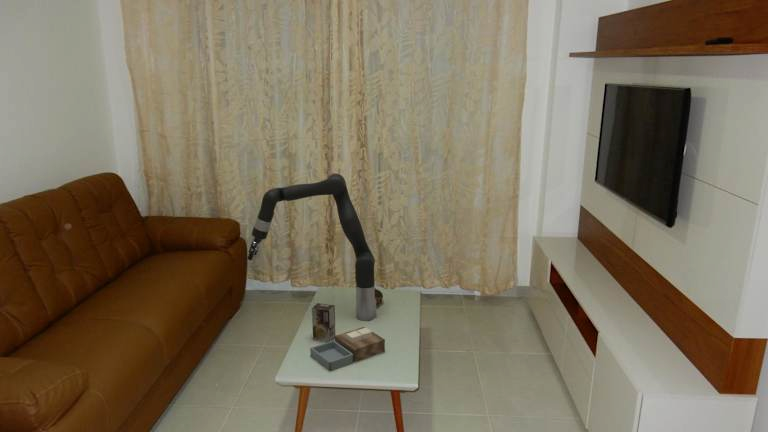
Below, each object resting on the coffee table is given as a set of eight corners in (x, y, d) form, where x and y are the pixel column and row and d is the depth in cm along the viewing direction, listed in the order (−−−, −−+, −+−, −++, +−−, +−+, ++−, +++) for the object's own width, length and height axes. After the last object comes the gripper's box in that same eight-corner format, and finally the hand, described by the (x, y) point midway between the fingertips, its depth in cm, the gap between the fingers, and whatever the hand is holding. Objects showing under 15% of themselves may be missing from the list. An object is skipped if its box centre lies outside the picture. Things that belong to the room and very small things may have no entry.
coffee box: (336, 337, 265) (335, 305, 261) (330, 343, 259) (329, 310, 255) (318, 334, 268) (317, 302, 264) (312, 340, 262) (311, 307, 258)
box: (334, 348, 254) (333, 340, 253) (353, 362, 241) (353, 354, 240) (310, 356, 247) (310, 347, 246) (329, 371, 234) (329, 362, 233)
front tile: (355, 335, 253) (355, 330, 252) (361, 340, 249) (361, 334, 248) (346, 338, 250) (346, 333, 249) (352, 343, 246) (352, 337, 245)
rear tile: (365, 332, 256) (365, 327, 255) (372, 336, 252) (372, 331, 251) (356, 335, 253) (356, 330, 252) (362, 339, 249) (362, 334, 248)
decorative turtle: (377, 296, 312) (378, 283, 310) (386, 309, 299) (387, 295, 296) (360, 298, 309) (361, 284, 307) (368, 310, 296) (369, 296, 293)
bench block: (364, 338, 263) (364, 326, 262) (384, 351, 251) (384, 339, 249) (334, 348, 254) (334, 335, 252) (354, 362, 242) (354, 349, 240)
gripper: (265, 234, 270) (255, 264, 274) (272, 226, 283) (262, 255, 287) (250, 228, 269) (240, 259, 273) (257, 221, 283) (248, 250, 287)
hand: (251, 257), depth 280 cm, fingers open, 8 cm apart
